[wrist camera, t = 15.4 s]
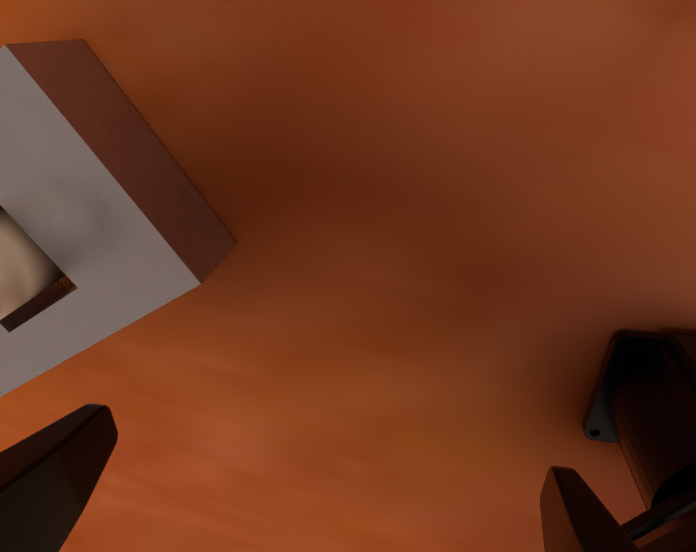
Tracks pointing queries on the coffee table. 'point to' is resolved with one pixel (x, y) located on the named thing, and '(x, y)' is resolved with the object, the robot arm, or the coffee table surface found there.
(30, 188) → the socket block
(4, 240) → the pin
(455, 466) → the coffee table surface
